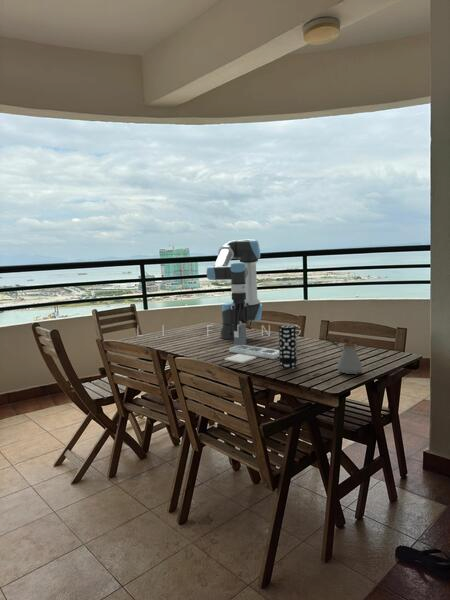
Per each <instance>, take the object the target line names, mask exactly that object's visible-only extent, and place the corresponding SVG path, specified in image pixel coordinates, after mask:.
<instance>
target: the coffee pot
mask: <svg viewBox="0 0 450 600" xmlns="http://www.w3.org/2000/svg"><path fill="white" fill-rule="evenodd" d="M323 340H327V341H329V342H330V343H331V344H333V345H335V346H336V347H337V348H338V349H340V350H341V351H342V354H341V355H340V357H339V359H338V362H337V364H336V368H337V370H338V371H339V372H340V373H341V372H342V373H347V374H355V373H358V374H359V373H361V371H363V367H364V366H363V364H362V362H361V360H360V358H359V355H358V353H357V351H356V349H357V347H358V346H357V344H355V343H344V344H342V345H339V344H338V343H337V342H335V341H334V340H333V339H331V338H330V337H328V336H326V335H324V337H323ZM342 373H341V374H342Z"/></svg>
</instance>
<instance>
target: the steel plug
mask: <svg viewBox="0 0 450 600" xmlns="http://www.w3.org/2000/svg"><path fill="white" fill-rule="evenodd" d="M238 325H239V338H238V337H234V339H233V344H234V346H236V345H246V344H247V325H246V324H245V325H240V324H238ZM233 327H234V326H233Z"/></svg>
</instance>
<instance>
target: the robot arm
mask: <svg viewBox="0 0 450 600" xmlns="http://www.w3.org/2000/svg"><path fill="white" fill-rule="evenodd" d="M260 248H261V247H260V244H259V241H258V240H257V239H251V238H250V239H249V238H248V239H233V240H230V241H227V242H226V243H224V244H223V245H221V246H220V247H219V249H218V252H217V253H218V254H217V258H216V260H215V262H214V264H213V265H212V266H211V265H210V266H207V268H206V277H207V279H208V281H227V280H229V281H230V283H231V285H230V288H231V289H230V290H231V300H232V301H230V302H225V303H223V304H222V306H221V319H222V320H221V325H222V327H221V329H220V333H219V337H220V338H221V339H224V340H234V337H238V338H239V325H238V324H240V325H246V324H248V322H253V323H254V322H259V321H261V319H262V312H263V303H261V301H260V299H259V298H258V285H257V284H258V283H257V281H258V280H257V262H259V259H260V258H261V250H260ZM235 259H236V260H237V259H239V261H238V262H231V264H230V265H229V263H230V261H231V260H235ZM233 326H234V327H233Z"/></svg>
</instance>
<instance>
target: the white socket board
mask: <svg viewBox="0 0 450 600" xmlns="http://www.w3.org/2000/svg"><path fill="white" fill-rule="evenodd" d="M228 348H229V349H228V350H229V351H228V352H229V353H233V354H242V355H248V356H254V357H256V358H257V357H258V358H263V359H268V358H269V359H268V360H276V359H278V358H277V357H279V349H273V348H267V347H261V346H260V347H259V346H252V345H246V344H244V345H233V346H231V347H228ZM275 358H276V359H275Z"/></svg>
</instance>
